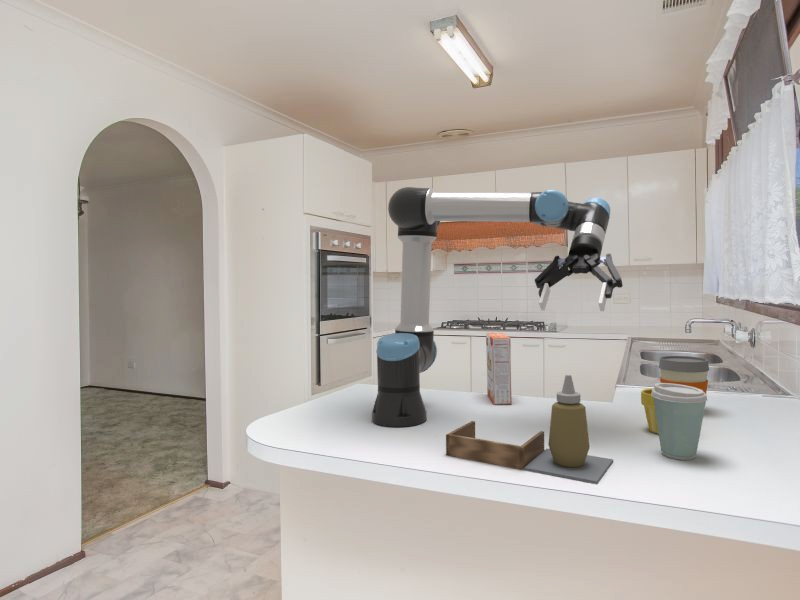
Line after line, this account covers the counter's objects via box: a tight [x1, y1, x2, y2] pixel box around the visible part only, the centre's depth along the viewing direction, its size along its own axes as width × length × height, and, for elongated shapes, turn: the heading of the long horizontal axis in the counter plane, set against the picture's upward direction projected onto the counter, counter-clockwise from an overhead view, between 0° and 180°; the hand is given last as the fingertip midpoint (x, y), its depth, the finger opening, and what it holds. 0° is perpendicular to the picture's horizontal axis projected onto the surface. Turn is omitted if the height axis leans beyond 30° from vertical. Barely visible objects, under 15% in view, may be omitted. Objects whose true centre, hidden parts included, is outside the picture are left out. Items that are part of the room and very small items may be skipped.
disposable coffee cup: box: [651, 382, 708, 461], centre depth 111 cm, size 11×11×15 cm
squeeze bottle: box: [547, 374, 591, 467], centre depth 106 cm, size 8×8×18 cm
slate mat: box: [523, 448, 614, 485], centre depth 106 cm, size 14×14×1 cm
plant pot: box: [640, 388, 659, 435], centre depth 129 cm, size 10×10×10 cm
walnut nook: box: [445, 420, 545, 471], centre depth 115 cm, size 18×13×4 cm
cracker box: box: [485, 332, 513, 405], centre depth 166 cm, size 14×6×21 cm, turn 178°
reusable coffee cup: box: [658, 355, 710, 395], centre depth 147 cm, size 13×13×15 cm
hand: (570, 307), depth 120 cm, fingers open, 13 cm apart
